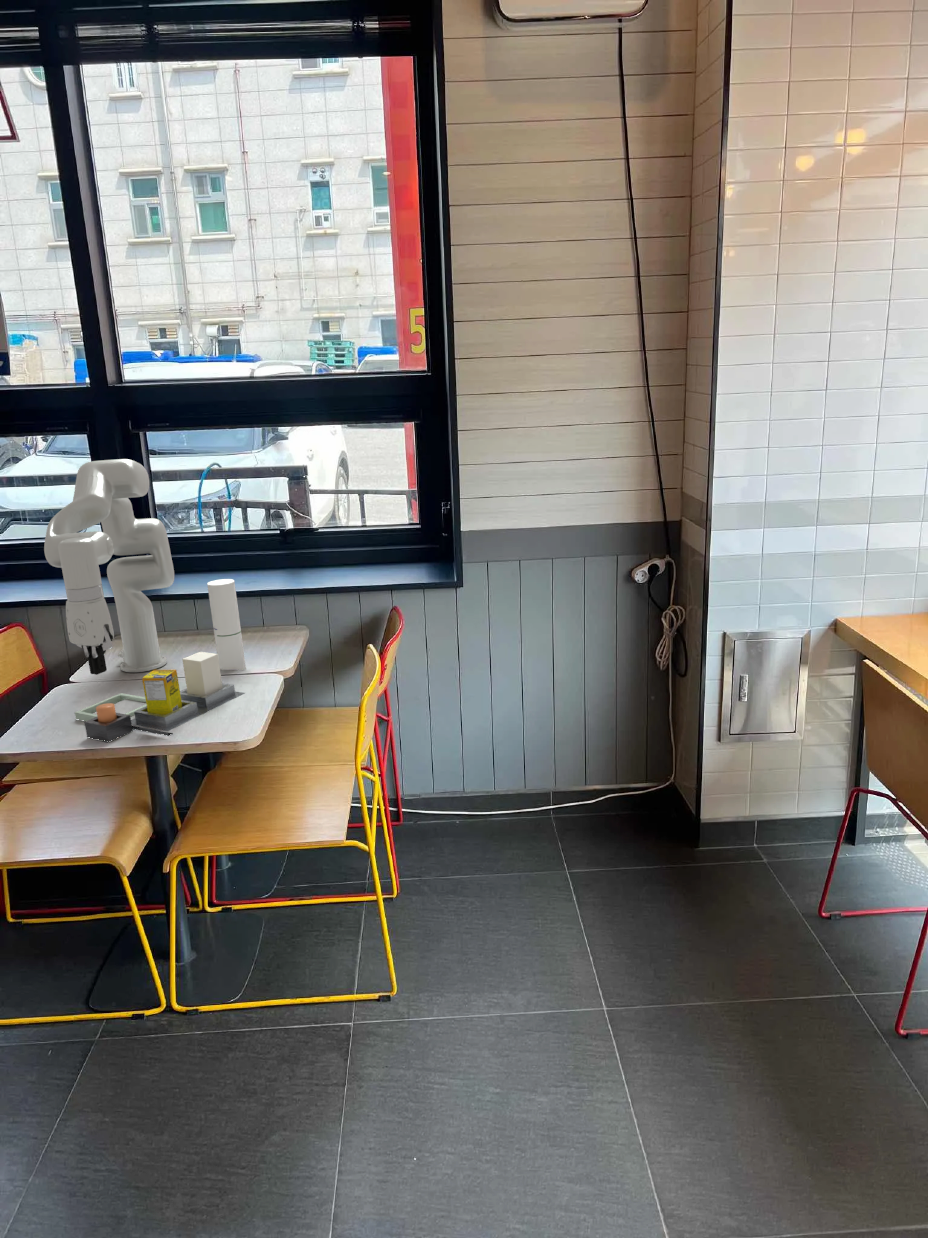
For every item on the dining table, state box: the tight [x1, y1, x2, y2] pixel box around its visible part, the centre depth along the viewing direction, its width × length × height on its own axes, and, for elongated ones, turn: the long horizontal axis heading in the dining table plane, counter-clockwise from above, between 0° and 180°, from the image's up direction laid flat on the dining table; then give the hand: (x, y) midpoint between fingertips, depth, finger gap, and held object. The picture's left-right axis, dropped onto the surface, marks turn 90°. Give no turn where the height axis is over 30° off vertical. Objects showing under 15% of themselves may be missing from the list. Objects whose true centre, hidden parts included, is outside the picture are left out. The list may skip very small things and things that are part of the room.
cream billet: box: [182, 651, 223, 696], centre depth 222 cm, size 6×6×11 cm
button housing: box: [83, 712, 134, 743], centre depth 207 cm, size 7×7×4 cm
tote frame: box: [74, 692, 147, 721], centre depth 220 cm, size 14×14×2 cm
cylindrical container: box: [206, 578, 247, 672], centre depth 245 cm, size 7×7×25 cm
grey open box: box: [131, 682, 246, 737], centre depth 218 cm, size 14×26×4 cm, turn 152°
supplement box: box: [141, 669, 182, 715], centre depth 211 cm, size 6×6×11 cm
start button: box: [96, 703, 117, 723], centre depth 206 cm, size 4×4×4 cm
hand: (98, 672), depth 203 cm, fingers closed
